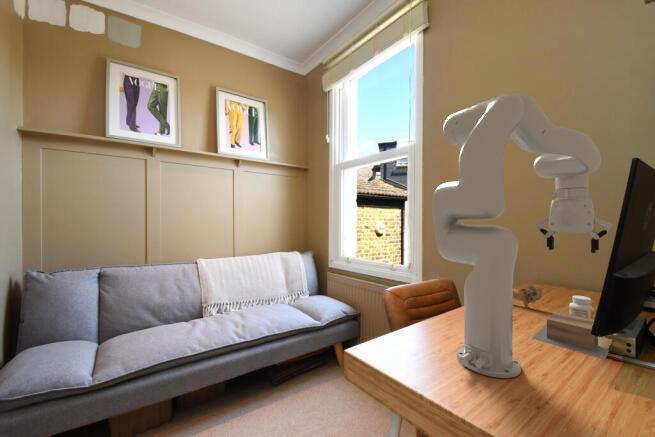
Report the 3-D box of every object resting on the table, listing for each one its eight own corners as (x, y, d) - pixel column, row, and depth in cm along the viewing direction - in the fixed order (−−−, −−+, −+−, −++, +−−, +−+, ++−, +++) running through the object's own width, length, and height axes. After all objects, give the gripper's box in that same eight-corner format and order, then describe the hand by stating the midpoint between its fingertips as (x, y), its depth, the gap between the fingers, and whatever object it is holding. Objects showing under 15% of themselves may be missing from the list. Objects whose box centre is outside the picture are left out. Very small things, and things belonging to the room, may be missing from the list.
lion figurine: (543, 310, 97) (543, 285, 97) (541, 314, 93) (541, 288, 93) (496, 301, 108) (496, 278, 108) (492, 304, 104) (492, 280, 104)
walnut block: (592, 350, 67) (592, 329, 67) (546, 337, 74) (546, 319, 74) (598, 339, 72) (598, 320, 72) (555, 328, 79) (555, 311, 79)
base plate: (605, 362, 63) (605, 359, 62) (531, 340, 73) (531, 338, 73) (613, 342, 73) (613, 339, 73) (547, 325, 83) (547, 323, 83)
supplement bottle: (578, 333, 78) (578, 299, 78) (564, 325, 83) (564, 294, 83) (599, 334, 78) (599, 300, 77) (583, 326, 83) (583, 295, 83)
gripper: (533, 196, 87) (533, 249, 87) (611, 192, 74) (611, 255, 74) (539, 196, 92) (539, 247, 92) (613, 193, 79) (613, 252, 79)
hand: (571, 251), depth 83 cm, fingers open, 9 cm apart
